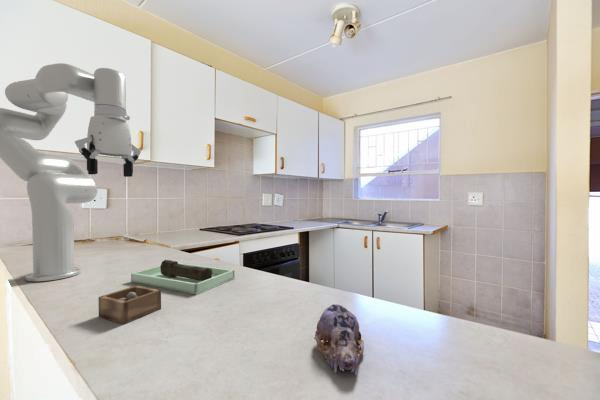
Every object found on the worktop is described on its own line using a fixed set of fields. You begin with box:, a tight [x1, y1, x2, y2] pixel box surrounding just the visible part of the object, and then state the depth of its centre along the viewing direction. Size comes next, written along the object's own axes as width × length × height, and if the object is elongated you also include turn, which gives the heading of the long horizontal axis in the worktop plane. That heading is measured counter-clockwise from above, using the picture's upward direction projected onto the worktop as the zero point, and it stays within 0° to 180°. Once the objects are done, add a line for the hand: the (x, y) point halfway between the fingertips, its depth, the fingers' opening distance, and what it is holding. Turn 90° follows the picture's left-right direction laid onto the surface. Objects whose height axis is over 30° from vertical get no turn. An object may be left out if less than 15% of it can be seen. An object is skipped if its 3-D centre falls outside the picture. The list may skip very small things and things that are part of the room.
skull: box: [313, 303, 365, 376], centre depth 42 cm, size 12×8×6 cm, turn 173°
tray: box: [130, 262, 235, 295], centre depth 81 cm, size 25×15×2 cm, turn 65°
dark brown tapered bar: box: [159, 259, 212, 282], centre depth 81 cm, size 19×4×5 cm, turn 61°
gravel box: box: [98, 285, 162, 325], centre depth 58 cm, size 8×8×4 cm
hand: (111, 175), depth 80 cm, fingers open, 9 cm apart
